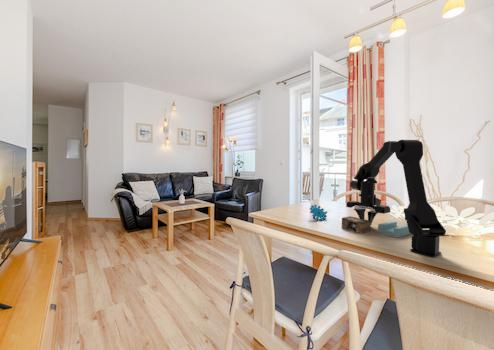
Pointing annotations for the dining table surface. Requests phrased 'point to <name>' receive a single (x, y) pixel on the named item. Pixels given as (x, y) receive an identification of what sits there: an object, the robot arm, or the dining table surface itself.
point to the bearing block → (360, 224)
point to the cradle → (393, 229)
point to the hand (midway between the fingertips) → (366, 224)
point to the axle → (353, 226)
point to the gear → (318, 212)
